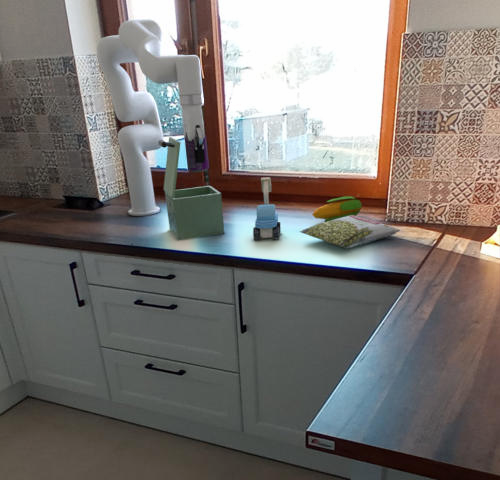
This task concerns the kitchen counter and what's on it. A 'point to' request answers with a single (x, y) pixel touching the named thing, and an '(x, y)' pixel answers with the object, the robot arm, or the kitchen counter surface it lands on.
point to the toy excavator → (266, 216)
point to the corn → (338, 209)
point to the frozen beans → (350, 231)
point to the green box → (195, 212)
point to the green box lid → (171, 165)
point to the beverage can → (191, 156)
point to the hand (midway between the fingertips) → (197, 160)
